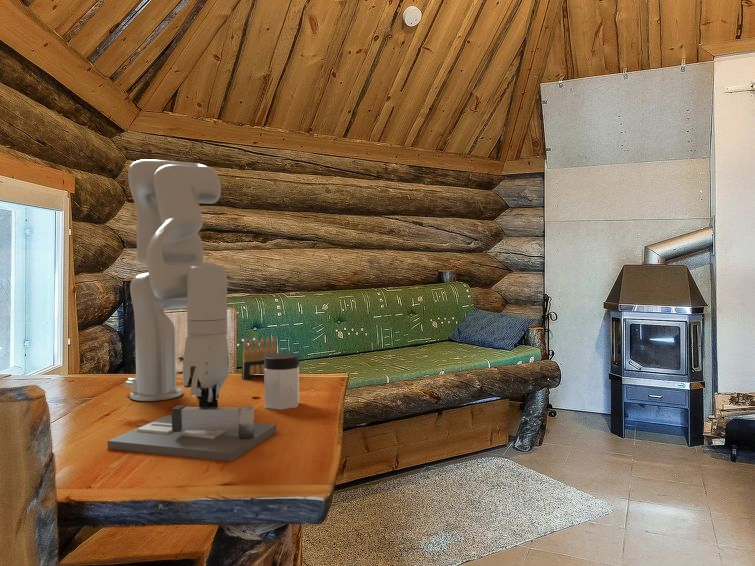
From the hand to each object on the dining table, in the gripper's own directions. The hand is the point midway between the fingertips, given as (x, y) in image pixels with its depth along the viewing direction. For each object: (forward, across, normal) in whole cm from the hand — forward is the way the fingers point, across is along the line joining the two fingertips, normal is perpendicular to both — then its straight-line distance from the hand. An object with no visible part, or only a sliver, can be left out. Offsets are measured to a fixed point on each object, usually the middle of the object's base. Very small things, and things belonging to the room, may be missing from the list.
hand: (208, 420), depth 118 cm
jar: (+4, -28, +4) cm, 28 cm away
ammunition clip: (+5, -56, -16) cm, 58 cm away
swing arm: (+2, +3, +3) cm, 4 cm away
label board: (+4, +1, -2) cm, 5 cm away
